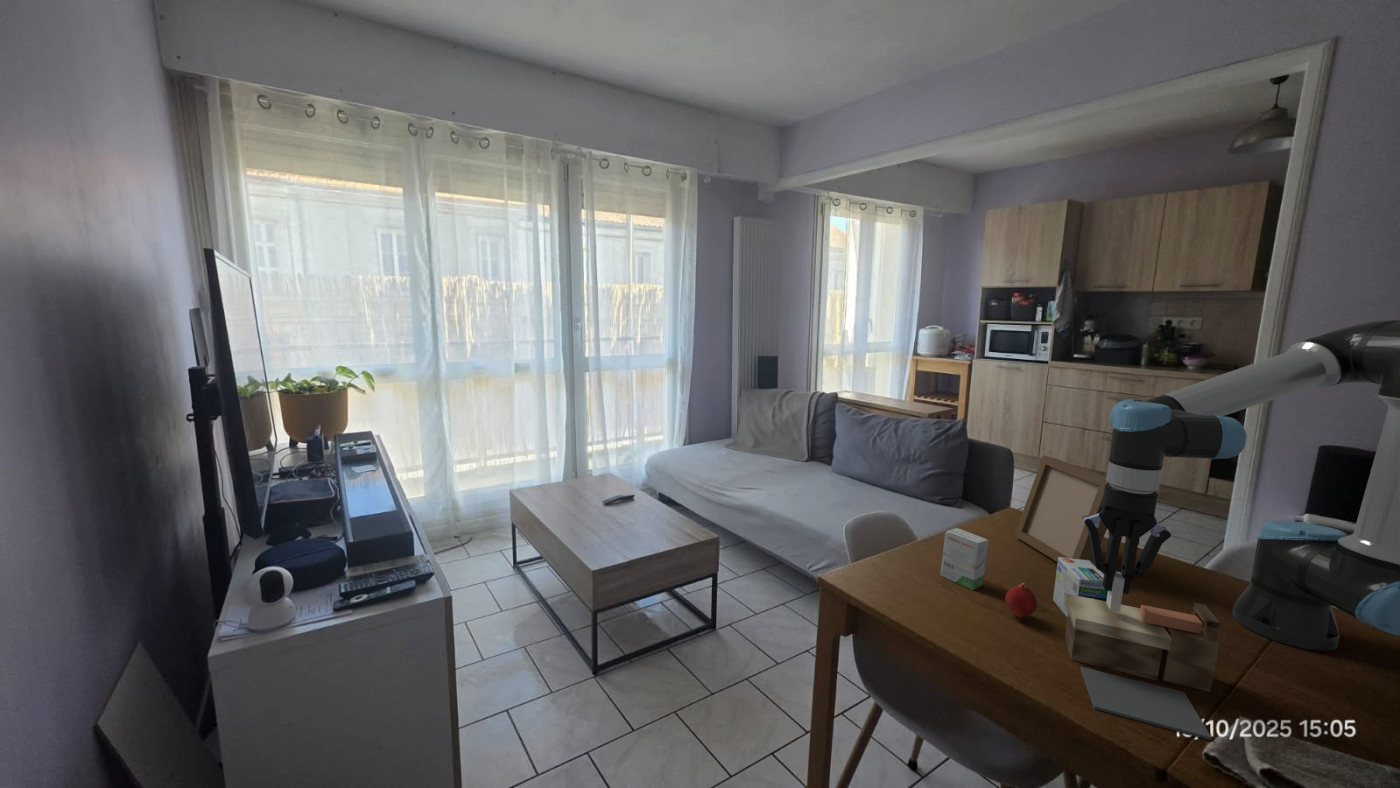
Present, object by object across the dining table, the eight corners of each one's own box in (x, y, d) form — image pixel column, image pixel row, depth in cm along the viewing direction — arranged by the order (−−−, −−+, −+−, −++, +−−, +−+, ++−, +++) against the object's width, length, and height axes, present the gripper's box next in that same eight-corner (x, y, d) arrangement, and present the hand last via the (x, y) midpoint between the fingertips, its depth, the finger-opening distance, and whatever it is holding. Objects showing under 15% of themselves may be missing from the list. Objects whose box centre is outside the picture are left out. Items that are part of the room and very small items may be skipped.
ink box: (939, 575, 133) (943, 531, 131) (951, 570, 136) (955, 526, 134) (973, 591, 126) (978, 544, 124) (984, 584, 129) (989, 538, 127)
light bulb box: (1109, 631, 111) (1116, 583, 109) (1073, 626, 112) (1079, 579, 111) (1083, 603, 121) (1090, 559, 120) (1051, 599, 123) (1056, 556, 121)
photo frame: (1073, 576, 134) (1088, 480, 130) (1013, 538, 155) (1024, 455, 151) (1127, 574, 135) (1143, 479, 131) (1060, 537, 157) (1072, 455, 153)
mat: (1183, 694, 93) (1184, 692, 93) (1211, 740, 83) (1211, 737, 83) (1080, 669, 99) (1080, 666, 99) (1094, 708, 89) (1094, 706, 89)
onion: (998, 609, 119) (1002, 575, 117) (1024, 609, 118) (1028, 576, 117) (1012, 624, 113) (1016, 589, 111) (1040, 625, 113) (1045, 590, 111)
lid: (1151, 621, 102) (1153, 611, 102) (1169, 650, 94) (1171, 638, 93) (1064, 603, 108) (1066, 593, 108) (1074, 628, 100) (1075, 618, 99)
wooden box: (1195, 669, 99) (1207, 604, 97) (1211, 693, 93) (1224, 624, 91) (1064, 639, 108) (1072, 578, 106) (1071, 659, 102) (1080, 595, 100)
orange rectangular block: (1194, 625, 97) (1196, 615, 96) (1200, 634, 94) (1202, 623, 94) (1139, 614, 100) (1141, 604, 100) (1144, 622, 98) (1145, 612, 97)
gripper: (1169, 486, 97) (1149, 605, 101) (1083, 476, 103) (1067, 589, 107) (1185, 499, 91) (1163, 626, 95) (1092, 487, 96) (1075, 608, 100)
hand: (1112, 606), depth 101 cm, fingers closed
